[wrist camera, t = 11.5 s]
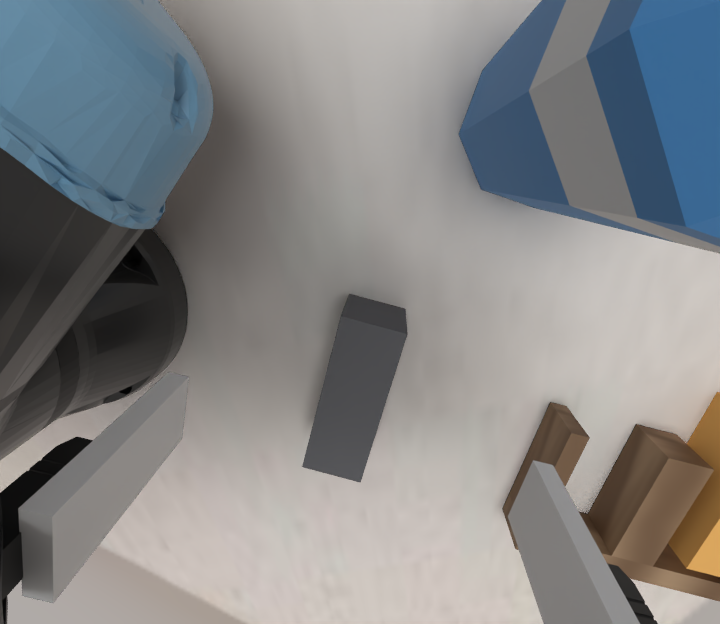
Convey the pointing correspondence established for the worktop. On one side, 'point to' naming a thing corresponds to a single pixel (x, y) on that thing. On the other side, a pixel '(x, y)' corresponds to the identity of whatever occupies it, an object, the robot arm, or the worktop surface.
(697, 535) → the tall orange brick
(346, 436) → the tall gray prism
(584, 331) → the worktop surface
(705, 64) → the blue water bottle
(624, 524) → the bronze desk organizer
